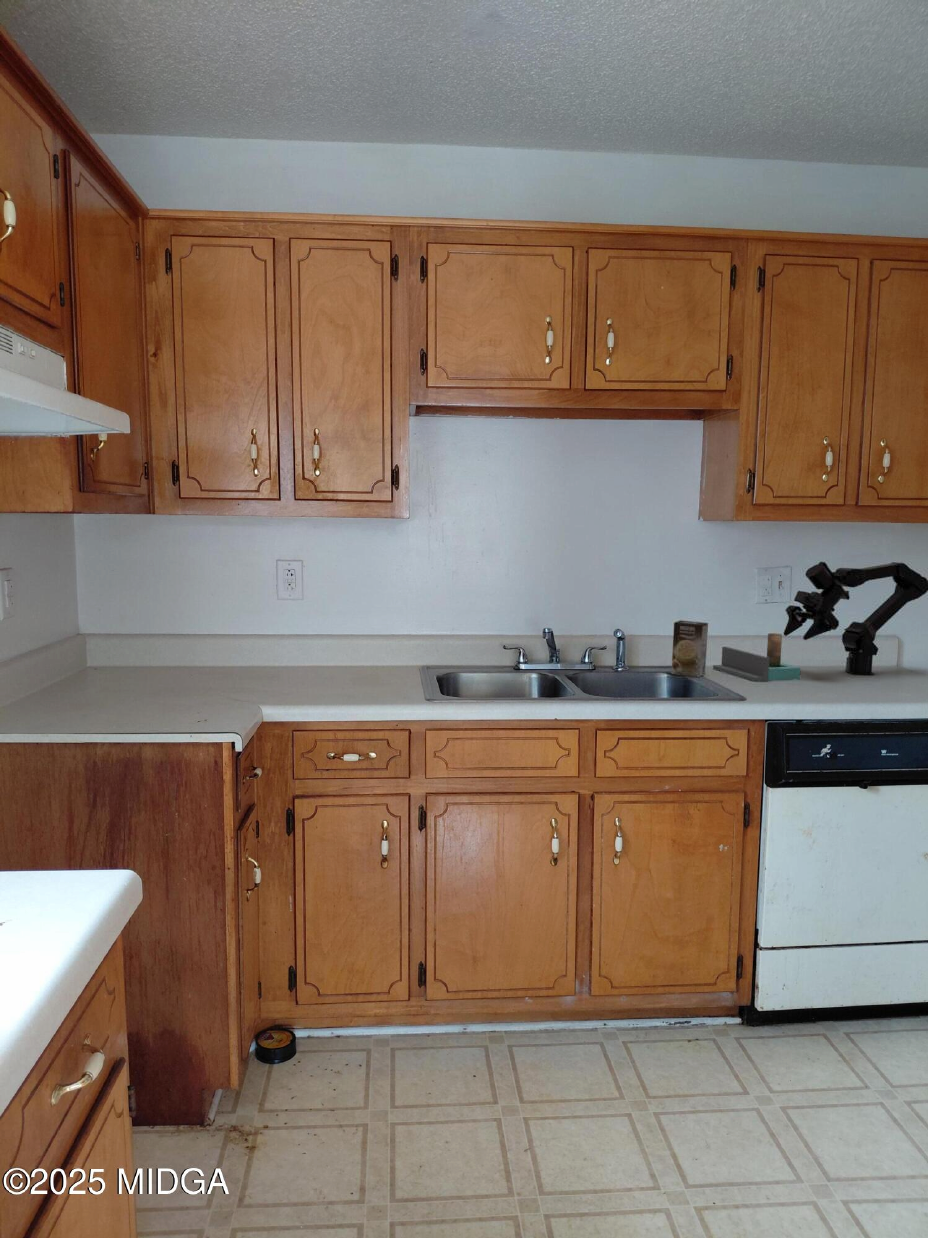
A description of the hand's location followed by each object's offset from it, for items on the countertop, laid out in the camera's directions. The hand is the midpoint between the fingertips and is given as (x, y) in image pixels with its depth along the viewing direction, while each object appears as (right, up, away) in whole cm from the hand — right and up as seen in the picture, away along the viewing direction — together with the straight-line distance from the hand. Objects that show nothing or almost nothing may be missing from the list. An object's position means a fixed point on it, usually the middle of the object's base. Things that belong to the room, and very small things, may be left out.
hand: (794, 637), depth 263 cm
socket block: (-7, -13, 0) cm, 14 cm away
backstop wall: (-16, -12, +2) cm, 20 cm away
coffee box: (-32, -12, +2) cm, 34 cm away
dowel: (-7, -12, -1) cm, 13 cm away
